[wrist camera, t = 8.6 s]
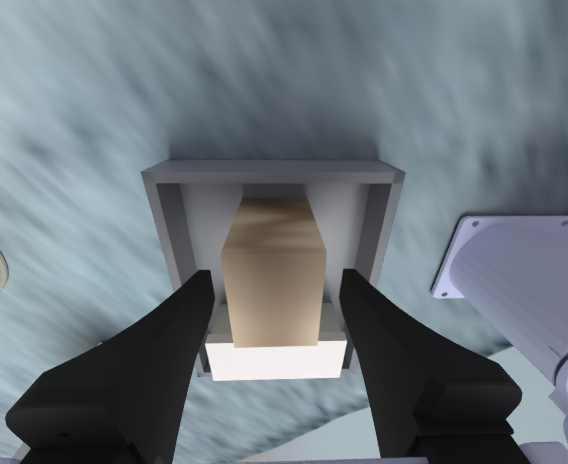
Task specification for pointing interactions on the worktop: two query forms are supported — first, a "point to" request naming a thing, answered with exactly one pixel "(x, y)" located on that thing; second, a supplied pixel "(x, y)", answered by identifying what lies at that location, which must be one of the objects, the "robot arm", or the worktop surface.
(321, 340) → the white box
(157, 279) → the worktop surface
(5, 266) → the can
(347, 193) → the tray
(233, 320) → the wood block
